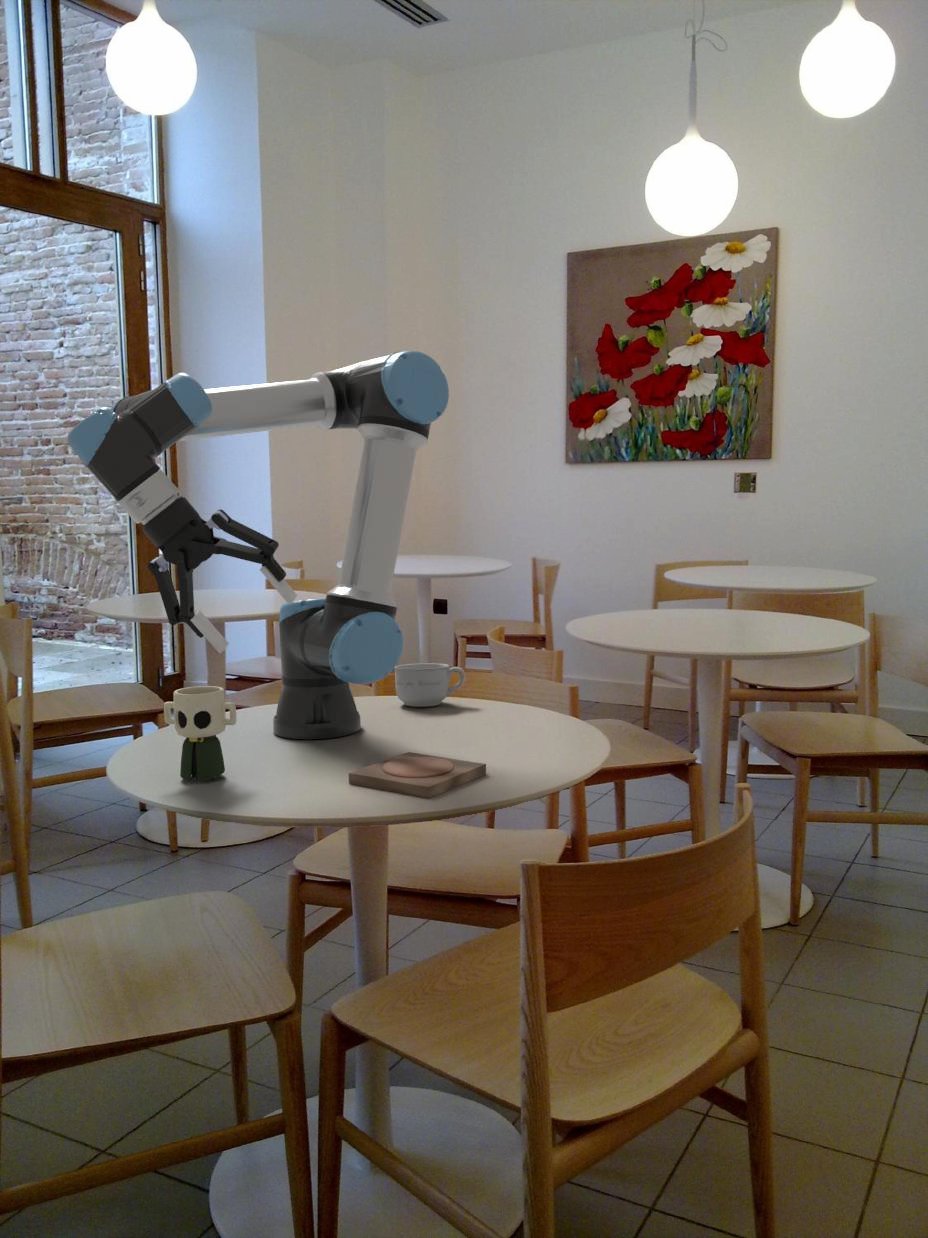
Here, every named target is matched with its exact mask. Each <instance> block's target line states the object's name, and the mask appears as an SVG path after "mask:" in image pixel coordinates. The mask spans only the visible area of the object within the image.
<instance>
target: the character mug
mask: <svg viewBox="0 0 928 1238" xmlns="http://www.w3.org/2000/svg"><path fill="white" fill-rule="evenodd" d="M225 694H226V693H225V689H224V687H222V686H215V685H212V686H211V685H198V686H187V687H182V688H179V689H176V690H174V691H173V701H166V702H164V704H163V718H164V722H165V724H167V725H174V729H175V731H176V733H177V735H178V736H180V737H183V738H185V739H184V740H183V743H182V746H181V747H182V748H181V756H180V757H181V758H180V774H179V776H180V778H181V779H182V780H187V781H191V780H192V779H196V780H197V781H205V780H207V781H209V780H213V779H216V778H220V776H221V775H223V774H224V773H225V771H226V767H225V766H226V765H225V761H224V755H223V749H222V744H221V741H220V738H218V736H217V735H219V734H222V733H223V732H225V730H226V726H235V725H236V724H237V706H236V704H235V702H230V701H228V702H226V699H225V698H226V697H225ZM171 709H173V717H172V713H171V712H172V711H171ZM226 710H229V717H228V718H226V717H227V716H226Z"/></svg>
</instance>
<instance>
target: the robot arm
mask: <svg viewBox="0 0 928 1238" xmlns="http://www.w3.org/2000/svg"><path fill="white" fill-rule="evenodd" d="M449 392H450V390H449V383H448V380H447V376H446V375H445V373H444V372H443V371H442V369H441V366H440V365H439V363H438V362H437V361H436V360H435V359H433V357H431V356H430V355H428V354H427V353H424V352H421V351H419V350H407V351H405V350H398V351H394V352H392V353H390V354H388V355H383V356H380V357H375V358H371V359H366V360H362V361H359V362H357V363H354V364H351V365H348V366H344V367H341V368H337V369H334V370H333V369H332V370H330V371H328V370H327V371H321V372H315V373H313V374H312V375H311V376H310V377H309V379H301V380H291V381H290V380H289V381H281V382H271V383H270V382H269V383H259V384H250V385H249V384H248V385H237V386H227V387H217V388H206V389H204V387H203V386H202V385H201V384H200V383H199V382H198V381H197V380H196V379H195V378H194V377H192V376H191V375H189V374H187V373H185V372H179V373H176V374H175V375H173V376H172V377H170V378H169V379H165V380H163V383H161V384H160V385H158V386H157V387H155V388H153V389H151V390H147V391H145V392H142V393H140V394H136V395H132V396H124V397H123V398H121V399H119V400H118V401H117V402H115V403H114V404H113V405H112V406H111V408H109V407H108V406H103V407H100V408H99V409H97V410H95V411H94V412H92V413H91V414H89V415H87V416H86V417H85V418H84V419H83V420H81V421H80V422H79V423H77V424H76V425H75V426H74V427H73V428H72V429H71V430H70V431H69V432H68V435H67V443H68V445H69V446H70V447H71V449H72V450H73V451H74V453H75V454H76V455H77V457H78V458H79V460H80V461H81V462H82V463H83V466H84V467H85V468H87V469H88V470H89V471H90V472H91V474H93V476H94V477H96V479H97V481H99V482H100V483H101V484H102V485H103V487H104V488H105V489H106V490H107V491H108V492H109V493H110V495H112V496H113V498H114V499H115V500H116V501H117V503H118V504H119V505H120V507H121V508H122V509H123V510H124V511H125V512H126V514H127V515H128V516H129V517H130V518H131V519H132V520H133V522H134V523H136V524H142V525H143V526H142V527H141V531H142V532H143V534H145V535H146V537H147V538H148V539H149V540H150V541H151V542H152V544H153V545H154V546H155V547H156V548H157V549H159V550H160V551H161V553H162V555H161V556H159V557H158V556H156V557H155V558H154V559H152V560H150V562H149V563H148V565H147V568H148V570H149V572H151V574H152V575H153V577H154V578H155V582H156V584H157V587H158V591H159V595H160V597H161V600H162V604H163V607H164V610H165V613H166V617H167V619H168V623H169V624H170V625H171V626H175V625H176V624H180V623H185V624H186V625H187V626H189V628H190V629H191V630H192V632H194V633H195V635H196V636H197V637H198V638H201V639H202V638H203V637H205V639H206V640H207V641H208V642H209V643H210V644H211V645H212V647H213V648H214V649H215V650H216V652H218V653H219V654H222V653H223V652H224V651H225V650H226V649H227V647H228V646H229V644H230V643H229V642H228V640H227V639H226V638H225V637H224V636H223V635H222V634H221V633H220V632H219V630H218V629H217V628H216V627H215V625H213V624H212V622H211V621H210V620H209V619H208V618H207V617H206V615H205V614H204V613H203V612H202V611H201V610H199V611H196V610H195V599H194V579H193V577H194V575H193V572H194V570H195V569H197V568H199V566H200V565H202V563H204V562H206V561H207V560H209V559H210V558H211V557H212V556H213V555H224V556H227V557H231V558H235V559H240V560H242V561H243V560H244V561H246V562H251V563H255V564H260V565H261V567H260V569H259V571H260V573H262V574H263V576H264V577H265V579H267V580H268V581H269V583H270V584H271V585H272V586H273V588H274V589H275V590H276V591H277V593H279V594H280V596H281V597H282V598H283V600H284V601H285V603H283V604H281V606H280V609H279V620H278V626H279V643H280V644H279V645H280V665H281V669H280V670H281V692H280V695H279V699H278V703H277V708H276V714H275V715H274V717H273V719H272V720H273V721H272V723H273V726H272V727H273V733H274V735H276V736H279V737H281V738H286V739H294V740H322V739H333V738H339V737H344V736H349V735H353V734H354V733H357V732H359V731H360V730H361V727H362V726H361V724H362V723H361V714H360V712H359V711H358V709H357V704H356V702H355V698H354V695H353V692H352V689H351V686H350V685H351V684H361V685H368V684H374V683H377V682H379V681H381V680H383V679H384V678H386V677H387V676H388V675H390V674H391V673H392V672H393V671H394V670H395V669H394V668H395V667H396V666H398V664H399V662H400V660H401V657H402V654H403V650H404V636H403V632H402V631H401V629H400V626H399V624H398V623H397V622H396V616H397V610H398V605H397V603H396V602H395V600H394V598H393V596H392V594H391V591H392V586H393V580H394V575H395V569H396V564H397V558H398V553H399V548H400V547H399V546H400V541H401V537H402V532H403V526H404V520H405V514H406V509H407V504H408V498H409V494H410V493H409V492H410V488H411V481H412V478H413V477H412V476H413V472H414V465H415V461H416V460H415V459H416V455H417V451H418V450H420V449H421V448H423V447H424V446H425V445H426V444H427V443H428V441H429V435H430V430H431V424H432V423H433V422H435V421H437V420H438V419H439V418H440V417H442V416H443V414H444V413H445V411H446V408H447V406H448V403H449V398H450V393H449ZM310 426H316V427H317V428H318V429H319V430H322V431H327V430H336V429H350V430H351V429H352V430H353V429H357V430H358V432H359V433H360V435H361V437H362V438H363V439H364V440H363V441H364V442H363V443H364V444H363V448H362V453H361V459H360V464H359V469H358V475H357V481H356V486H355V491H354V498H353V502H352V508H351V512H350V513H351V514H350V519H349V525H348V529H347V535H346V541H345V545H344V550H343V552H344V553H343V557H342V562H341V568H340V574H339V578H338V579H339V580H338V582H337V585H336V586H334V587H333V588H332V589H330V590H329V591H327V593H326V597H325V598H315V599H313V598H311V599H305V600H304V599H302V600H295V599H296V598H297V597H298V594H297V593H296V592H295V590H294V589H293V588H292V587H291V585H290V584H289V583H288V582H287V581H286V579H285V578H286V576H287V572H286V571H285V569H283V567H282V566H281V565H280V563H278V561H277V560H276V559H275V557H274V555H275V553H276V551H277V549H278V548H279V545H280V544H279V542H278V541H277V540H275V539H273V538H270V537H269V536H266V535H265V534H263V533H261V532H259V531H257V530H254V529H252V528H251V527H249V526H247V525H244V524H243V523H241V522H239V521H237V520H235V519H232V517H231V516H230V515H228V514H227V512H226V511H224V510H223V509H222V508H221V509H217V510H216V511H215V512H214V513H213V514H212V515H211V517H210V518H209V520H208V521H206V520H205V519H203V518H202V517H201V516H200V514H199V512H198V511H197V509H195V508H194V507H193V505H192V504H191V503H190V502H189V500H188V499H187V498H186V497H185V496H182V495H181V496H180V497H179V495H178V494H179V492H180V489H178V487H177V486H176V485H175V483H173V481H171V479H170V478H169V477H168V476H167V474H165V473H164V471H163V470H162V469H161V467H160V466H159V464H158V463H156V462H155V458H158V457H159V456H160V455H162V453H164V452H165V451H166V450H168V449H170V448H171V447H172V446H173V445H175V444H176V443H177V442H183V441H189V440H190V441H193V440H200V439H208V438H209V439H210V438H216V437H225V436H233V435H242V434H244V435H245V434H252V433H259V432H267V431H277V430H283V429H285V430H286V429H293V428H300V427H310ZM214 529H215V530H222V531H223V532H224V533H226V534H229V535H231V536H232V537H234V538H237V539H239V541H242V542H244V543H247V544H249V545H246V544H241V543H237V542H233V541H229V540H227V539H225V538H222V537H218V536H215V535H214ZM169 564H173V565H176V576H177V578H178V590H179V599H178V596H177V592H176V589H175V586H174V582H173V580H172V575H171V572H170V571H169ZM350 683H351V684H350Z"/></svg>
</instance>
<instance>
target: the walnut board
mask: <svg viewBox="0 0 928 1238" xmlns="http://www.w3.org/2000/svg"><path fill="white" fill-rule="evenodd" d="M485 775H487V763H482V762H475V761H470V760H469V761H468V760H462V759H456V758H450V757H444V756H436V755H430V754H424V753H418V752H412V751H408V752H405V753H402V754H399V755H396V756H393V757H391V758H388V759H385V760H382V761H379V762H375V763H373V764H371V765H367V766H364V767H361V768H358V769H356V770H352V771H350V772H348V784H351V785H356V786H362V787H368V788H373V789H379V790H383V791H388V792H390V791H391V792H394V793H400V794H406V795H409V796H410V795H412V796H416V797H421V798H428V799H431V798H432V797H435V796H437V795H440V794H442V793H445V792H447V791H449V790H452V789H454V788H456V787H458V786H461V785H463V784H466V783H468V782H471V781H473V780H476V779H478V778H481V777H483V776H485Z"/></svg>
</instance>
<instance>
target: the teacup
mask: <svg viewBox="0 0 928 1238" xmlns="http://www.w3.org/2000/svg"><path fill="white" fill-rule="evenodd" d="M393 670H394V683H395V693H396V697H398V699H399V700H400V701H401V702H402V703H403V704H404V705H405V706H408V707H413V708H415V707H416V708H417V707H419V708H420V707H435V706H438V705H441V703H442V702H443V701H445V699H446V698H447V697H450V696H451V695H452V693H453V692H456V690H458V689H460V688H461V687H462V686H463V684H464V683H465V682H466V676H467V675H466V673H465V670H464V669H463V668H461V667H459V666H453V667H451V668H450V665H449V664H446V663H433V662H432V663H430V662H427V663H426V662H424V663H406V664H400V665H396V667H395V668H394V669H393ZM453 673H458V674H459V677H460V679H459V681H458V682H457V683H456V684H455V685H453V686H450V683H449V681H450V680H451V677H452V674H453Z"/></svg>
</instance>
